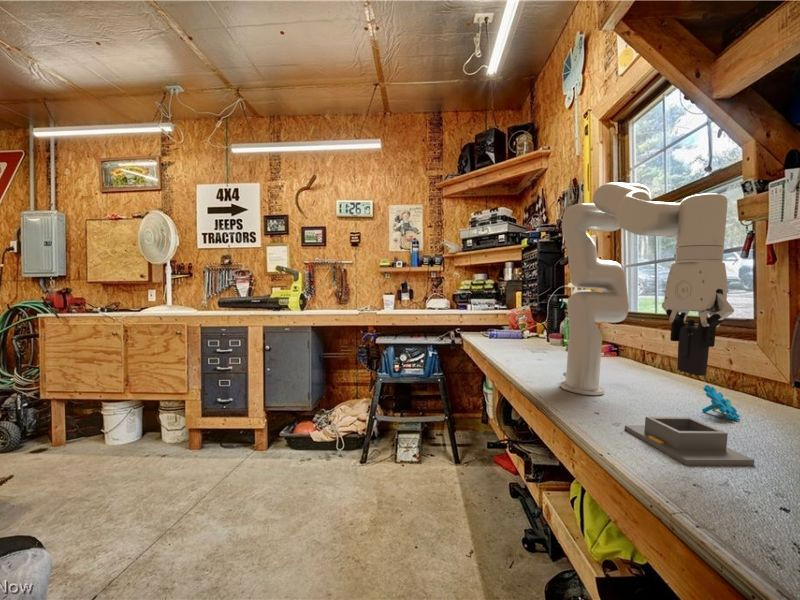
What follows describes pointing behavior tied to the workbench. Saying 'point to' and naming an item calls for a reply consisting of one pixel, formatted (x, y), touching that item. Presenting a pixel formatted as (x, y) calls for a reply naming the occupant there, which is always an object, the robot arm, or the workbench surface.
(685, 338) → the two-way radio
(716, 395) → the blue branched piece
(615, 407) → the workbench surface
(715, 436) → the charging cradle
